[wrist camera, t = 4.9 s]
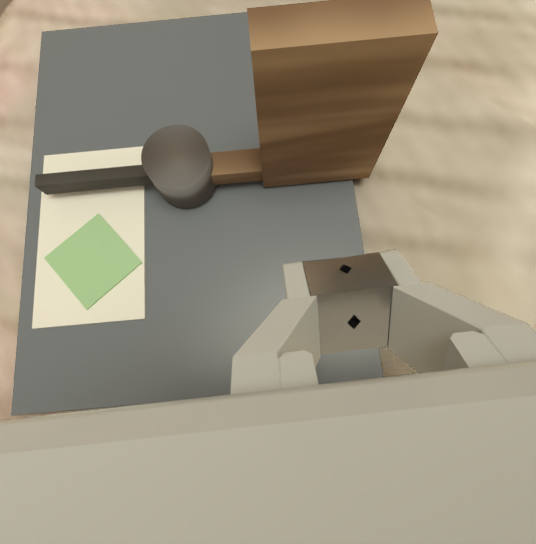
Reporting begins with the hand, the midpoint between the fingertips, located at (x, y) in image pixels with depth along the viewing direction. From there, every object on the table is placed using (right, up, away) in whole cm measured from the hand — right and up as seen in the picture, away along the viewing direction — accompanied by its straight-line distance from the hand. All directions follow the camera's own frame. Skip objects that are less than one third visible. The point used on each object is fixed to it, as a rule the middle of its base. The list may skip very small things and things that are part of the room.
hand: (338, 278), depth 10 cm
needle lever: (-6, +6, +15) cm, 17 cm away
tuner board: (-7, +6, +16) cm, 19 cm away
